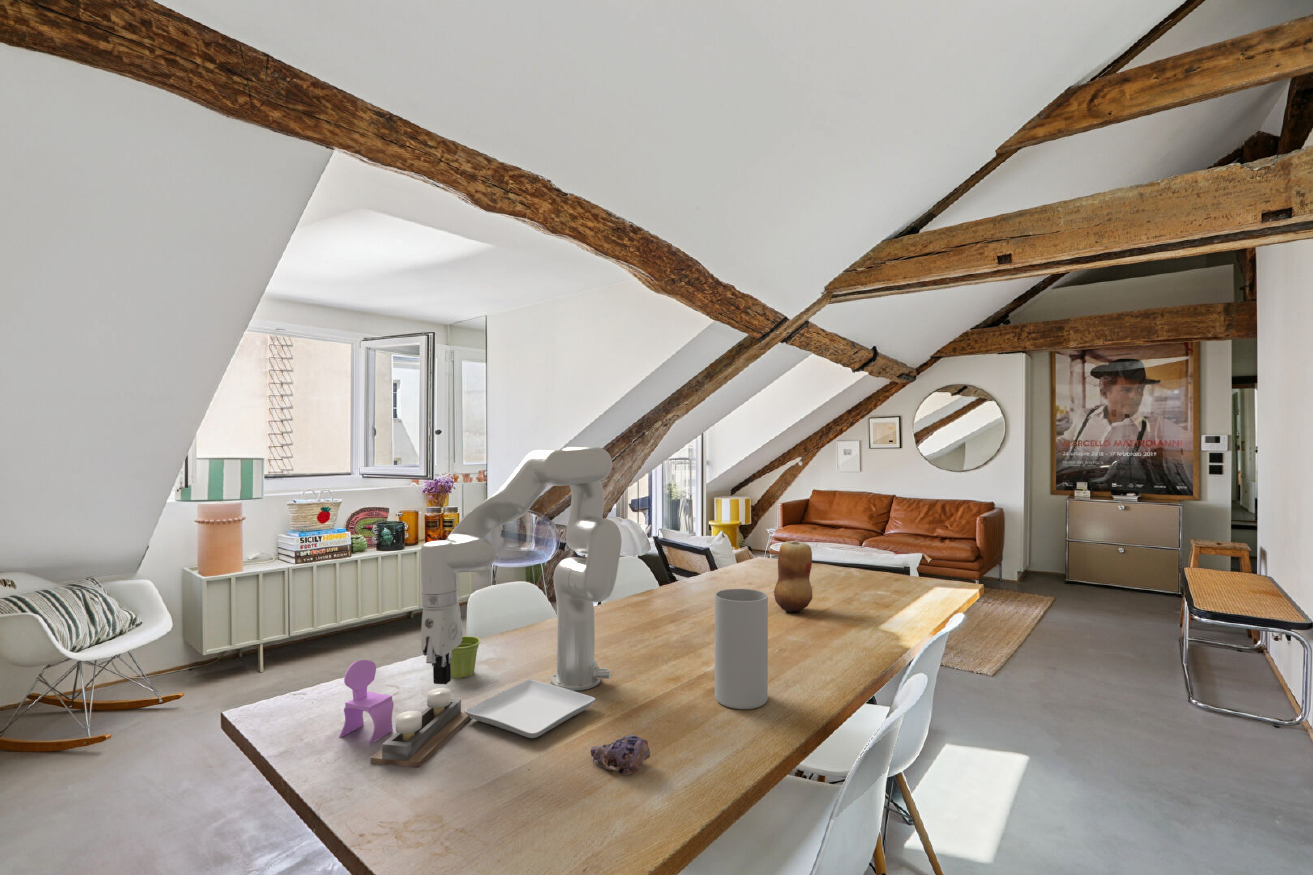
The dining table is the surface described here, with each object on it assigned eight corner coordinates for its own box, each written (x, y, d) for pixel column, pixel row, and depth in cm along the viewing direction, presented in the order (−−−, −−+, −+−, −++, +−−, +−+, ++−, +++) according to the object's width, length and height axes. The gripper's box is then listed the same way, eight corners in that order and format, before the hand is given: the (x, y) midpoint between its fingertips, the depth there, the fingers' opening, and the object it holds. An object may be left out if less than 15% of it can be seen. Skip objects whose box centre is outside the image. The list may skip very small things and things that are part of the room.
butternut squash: (804, 618, 222) (804, 546, 222) (768, 612, 229) (768, 542, 229) (817, 609, 234) (818, 540, 234) (783, 604, 241) (783, 537, 241)
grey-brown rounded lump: (583, 766, 122) (583, 734, 122) (607, 749, 129) (607, 719, 129) (635, 784, 116) (635, 750, 116) (657, 766, 123) (657, 733, 123)
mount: (470, 717, 143) (471, 700, 143) (418, 767, 121) (418, 747, 121) (429, 714, 145) (429, 697, 145) (370, 762, 123) (370, 743, 123)
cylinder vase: (771, 693, 157) (771, 590, 157) (762, 713, 145) (762, 603, 145) (721, 686, 161) (721, 587, 161) (709, 706, 149) (709, 598, 149)
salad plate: (534, 749, 129) (534, 732, 129) (461, 724, 141) (461, 708, 141) (598, 711, 147) (598, 696, 147) (529, 691, 159) (529, 677, 159)
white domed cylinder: (426, 737, 129) (426, 711, 129) (413, 748, 124) (413, 721, 124) (404, 735, 130) (404, 709, 130) (390, 746, 125) (390, 720, 125)
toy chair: (368, 746, 130) (368, 672, 130) (335, 739, 133) (335, 666, 133) (398, 728, 138) (398, 658, 138) (366, 722, 141) (366, 654, 141)
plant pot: (469, 682, 164) (469, 648, 164) (436, 679, 165) (436, 646, 165) (486, 669, 173) (486, 637, 173) (454, 667, 175) (454, 635, 175)
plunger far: (454, 712, 141) (454, 688, 141) (443, 721, 136) (443, 697, 136) (434, 710, 142) (434, 687, 142) (422, 720, 137) (422, 695, 137)
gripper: (439, 608, 131) (441, 698, 132) (471, 590, 146) (473, 670, 146) (405, 607, 132) (407, 696, 133) (440, 589, 147) (443, 668, 148)
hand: (442, 682), depth 140 cm, fingers closed
